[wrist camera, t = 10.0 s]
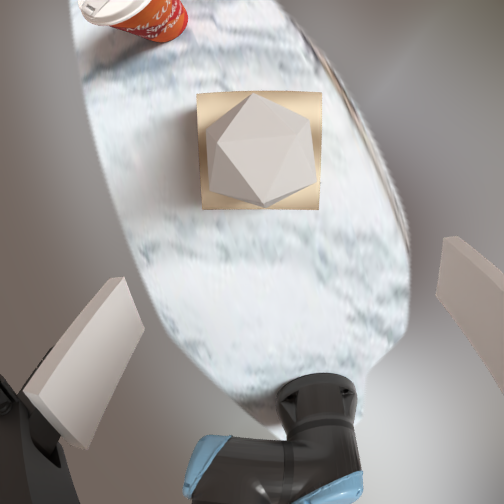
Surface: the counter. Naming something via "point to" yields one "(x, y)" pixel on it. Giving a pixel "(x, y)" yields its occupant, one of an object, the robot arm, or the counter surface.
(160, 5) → the paper cup
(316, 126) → the tower top slab
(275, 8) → the counter surface
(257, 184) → the die
